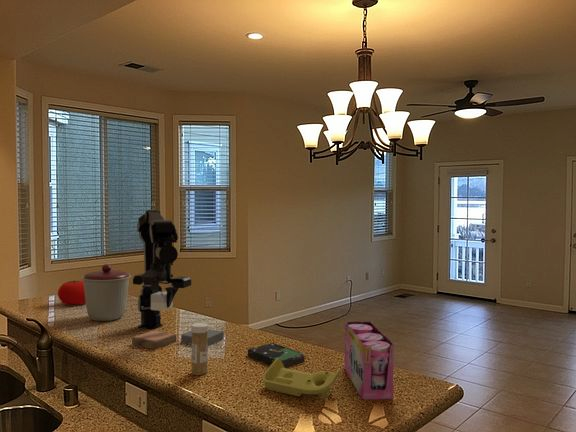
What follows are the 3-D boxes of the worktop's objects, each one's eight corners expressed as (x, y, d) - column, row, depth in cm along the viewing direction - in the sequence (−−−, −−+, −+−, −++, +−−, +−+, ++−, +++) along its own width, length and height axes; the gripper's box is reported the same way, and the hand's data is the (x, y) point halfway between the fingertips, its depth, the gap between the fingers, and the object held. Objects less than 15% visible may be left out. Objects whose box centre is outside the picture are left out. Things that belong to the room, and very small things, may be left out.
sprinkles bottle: (208, 375, 136) (208, 326, 135) (191, 376, 135) (191, 326, 134) (207, 369, 140) (207, 321, 139) (190, 370, 139) (191, 322, 138)
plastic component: (258, 380, 127) (279, 354, 134) (267, 402, 129) (288, 375, 136) (324, 393, 115) (343, 364, 122) (332, 417, 117) (351, 387, 124)
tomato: (86, 299, 227) (86, 276, 227) (97, 304, 218) (97, 280, 217) (53, 303, 218) (53, 280, 217) (63, 309, 208) (63, 284, 208)
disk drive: (246, 358, 152) (279, 370, 141) (246, 349, 152) (279, 360, 141) (272, 351, 159) (305, 362, 149) (272, 342, 159) (305, 352, 148)
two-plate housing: (160, 305, 167) (160, 290, 167) (172, 307, 166) (172, 291, 165) (150, 309, 161) (150, 293, 161) (162, 311, 160) (163, 294, 160)
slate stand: (181, 342, 165) (181, 334, 165) (199, 334, 174) (199, 327, 174) (206, 346, 160) (206, 339, 160) (223, 338, 169) (223, 331, 169)
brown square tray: (131, 344, 161) (131, 337, 161) (153, 337, 170) (153, 329, 170) (155, 349, 157) (156, 341, 157) (176, 341, 166) (176, 333, 166)
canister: (116, 325, 184) (116, 268, 183) (71, 322, 187) (71, 266, 186) (138, 314, 202) (139, 262, 201) (97, 311, 205) (97, 260, 204)
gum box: (395, 402, 120) (397, 346, 119) (363, 403, 119) (364, 346, 119) (370, 367, 144) (371, 321, 143) (343, 368, 143) (344, 321, 143)
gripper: (122, 260, 158) (122, 309, 159) (174, 264, 152) (174, 315, 153) (142, 256, 169) (142, 302, 169) (192, 259, 163) (191, 307, 164)
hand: (161, 306), depth 164 cm, fingers closed on two-plate housing, 4 cm apart
